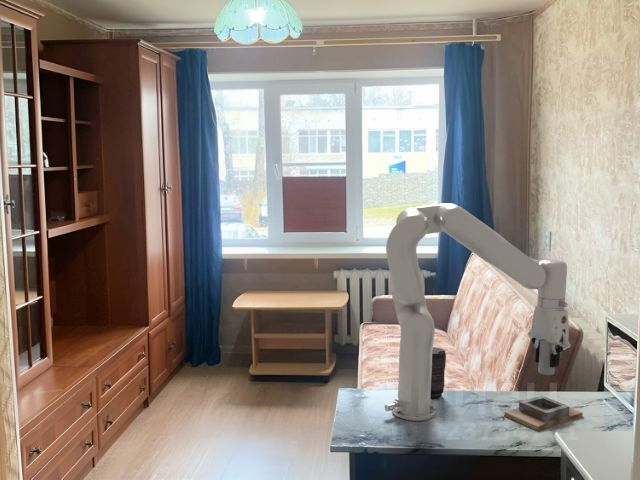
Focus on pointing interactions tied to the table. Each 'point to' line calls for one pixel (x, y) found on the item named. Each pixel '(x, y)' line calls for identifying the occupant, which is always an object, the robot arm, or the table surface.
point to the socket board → (542, 413)
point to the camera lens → (437, 373)
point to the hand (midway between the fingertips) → (546, 363)
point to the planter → (545, 358)
